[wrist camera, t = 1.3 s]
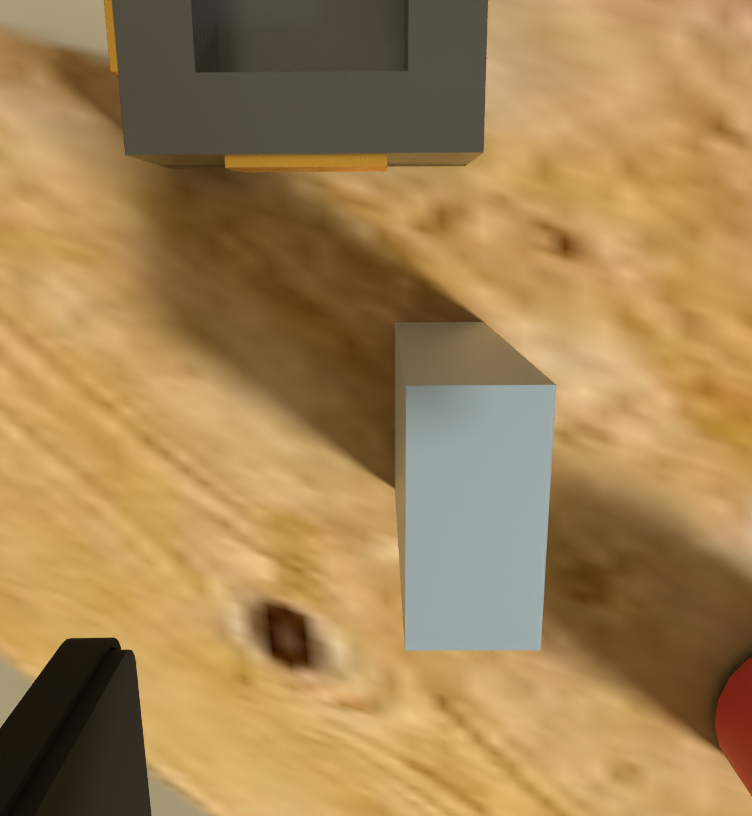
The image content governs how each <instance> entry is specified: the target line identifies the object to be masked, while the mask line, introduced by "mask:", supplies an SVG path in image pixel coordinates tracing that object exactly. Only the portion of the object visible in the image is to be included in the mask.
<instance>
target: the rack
mask: <svg viewBox="0 0 752 816" xmlns="http://www.w3.org/2000/svg"><path fill="white" fill-rule="evenodd" d="M104 6H105V17H106V28H107V39H108V50H109V61H110V72H112V73H114V74H115V75H117V76H118V77H119V88H120V99H121V111H122V122H123V133H124V144H125V155H127V156H131V157H134V158H137V159H141V160H144V161H147V162H151V163H154V164H157V165H161V166H164V167H167V168H228V169H230V170H232V171H235V172H342V171H386V170H387V166H466V165H467V164H468V163H470V162H471V161H472V160H474V159H475V158H477V157H478V156H479V155H481V154H482V153H483V149H484V115H485V81H486V47H487V13H488V0H104Z"/></svg>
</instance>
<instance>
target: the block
mask: <svg viewBox="0 0 752 816" xmlns="http://www.w3.org/2000/svg"><path fill="white" fill-rule="evenodd" d="M555 395H556V384H554V383H553V382H552V381H551V380H550V379H549V378H548V377H546V376H545V375H544V374H543V373H542V372H541V371H540V370H538V369H537V368H536V367H535V366H534V365H533V364H532V363H530V362H529V361H528V360H527V359H526V358H525V357H524V356H522V355H521V354H520V353H519V352H518V351H517V350H516V349H514V348H513V347H512V346H511V345H510V344H509V343H507V342H506V341H505V340H504V339H503V338H502V337H501V336H499V335H498V334H497V333H496V332H495V331H494V330H493V329H491V328H490V327H489V326H488V325H487V324H486V323H485V322H395V499H396V515H397V531H398V547H399V563H400V579H401V595H402V611H403V626H404V642H405V651H425V650H541V636H542V619H543V602H544V585H545V567H546V550H547V533H548V516H549V498H550V481H551V464H552V446H553V429H554V412H555Z"/></svg>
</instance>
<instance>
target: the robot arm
mask: <svg viewBox="0 0 752 816" xmlns="http://www.w3.org/2000/svg"><path fill="white" fill-rule="evenodd" d="M0 816H151V807H150V797H149V787H148V778H147V768H146V758H145V748H144V738H143V728H142V719H141V709H140V699H139V689H138V679H137V670H136V661H135V655H134V653H133V651H131V650H121V646H120V644H119V642H118V640H117V639H116V638H71V639H66V640H65V641H64V642H63V643H62V644H61V646H60V647H59V649H58V650H57V651H56V653H55V654H54V655H53V657H52V658H51V660H50V661H49V662H48V664H47V665H46V666H45V668H44V669H43V670H42V672H41V673H40V675H39V676H38V677H37V679H36V680H35V681H34V683H33V684H32V686H31V687H30V688H29V690H28V691H27V692H26V694H25V695H24V697H23V698H22V700H21V701H20V702H19V703H18V705H17V706H16V707H15V709H14V710H13V712H12V713H11V714H10V716H9V717H8V718H7V720H6V721H5V723H4V724H3V725H2V727H1V728H0Z"/></svg>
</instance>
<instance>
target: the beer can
mask: <svg viewBox="0 0 752 816" xmlns="http://www.w3.org/2000/svg"><path fill="white" fill-rule="evenodd" d="M715 729H716V733H717V737H718V741H719V745H720V749H721V750H722V752H723V753H724V755H725V756H726V758H727V759H728V761H729V762H730V764H731V766H732V767H733V769H734V770H735V772H736V773H737V775H738V776H739V778H740V779H741V781H742V782H743V784H744V785H745V787H746V788H747V790H748V791H749V793H750V794H751V796H752V657H750V658H748V659H747V660H746V661H745V662H744V663H743V664H742V665H741V666H740V667H739V668H738V669H737V670H736V671H735V672H734V673H733V674H732V675H731V676H730V678H729V680H728V682H727V683H726V685H725V687H724V689H723V691H722V693H721V695H720V697H719V699H718V703H717V711H716V718H715Z"/></svg>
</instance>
